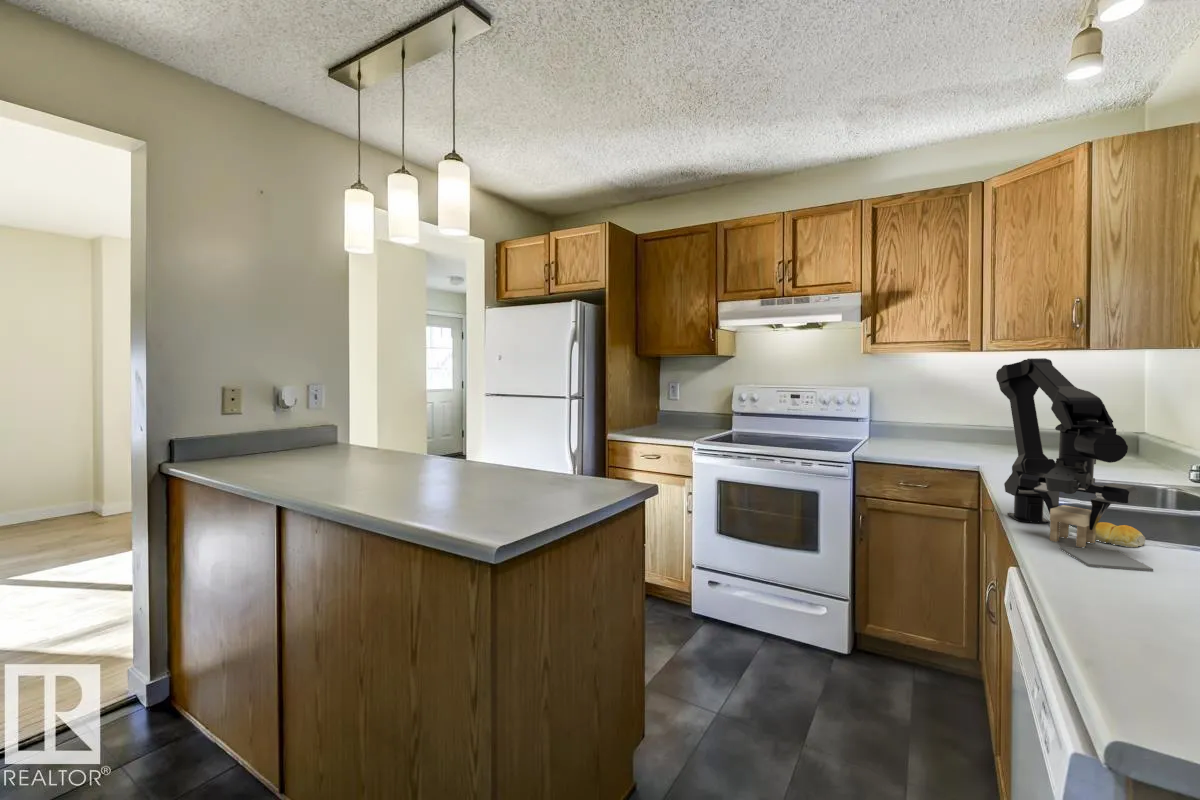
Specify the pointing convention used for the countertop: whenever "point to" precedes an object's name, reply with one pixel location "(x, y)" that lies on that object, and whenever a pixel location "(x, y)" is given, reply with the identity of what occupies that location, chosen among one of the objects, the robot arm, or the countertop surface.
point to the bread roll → (1119, 535)
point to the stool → (1073, 516)
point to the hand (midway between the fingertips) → (1072, 525)
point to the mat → (1106, 559)
